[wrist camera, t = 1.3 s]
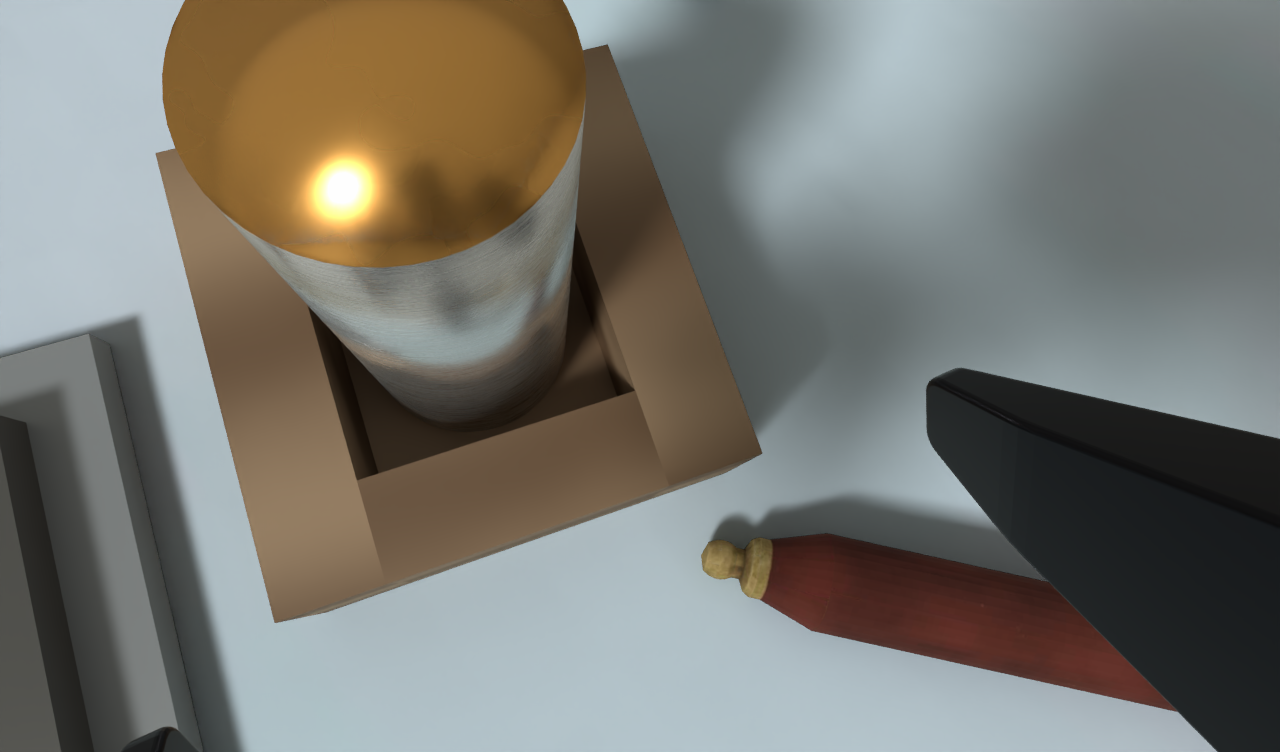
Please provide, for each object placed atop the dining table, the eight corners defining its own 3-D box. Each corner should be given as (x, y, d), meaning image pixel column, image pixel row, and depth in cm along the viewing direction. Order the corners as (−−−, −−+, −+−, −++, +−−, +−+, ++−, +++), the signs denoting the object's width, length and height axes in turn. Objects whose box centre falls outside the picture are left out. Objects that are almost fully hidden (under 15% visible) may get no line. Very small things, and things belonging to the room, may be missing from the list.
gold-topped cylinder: (590, 397, 21) (640, 202, 10) (403, 457, 21) (218, 320, 9) (532, 229, 22) (516, -132, 11) (351, 279, 21) (120, -55, 10)
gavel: (670, 779, 18) (750, 352, 20) (656, 739, 22) (723, 393, 25) (1610, 989, 18) (1576, 533, 20) (1408, 907, 22) (1399, 541, 25)
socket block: (725, 472, 22) (762, 453, 19) (326, 612, 20) (274, 622, 17) (598, 127, 24) (607, 44, 21) (223, 224, 22) (155, 153, 19)
